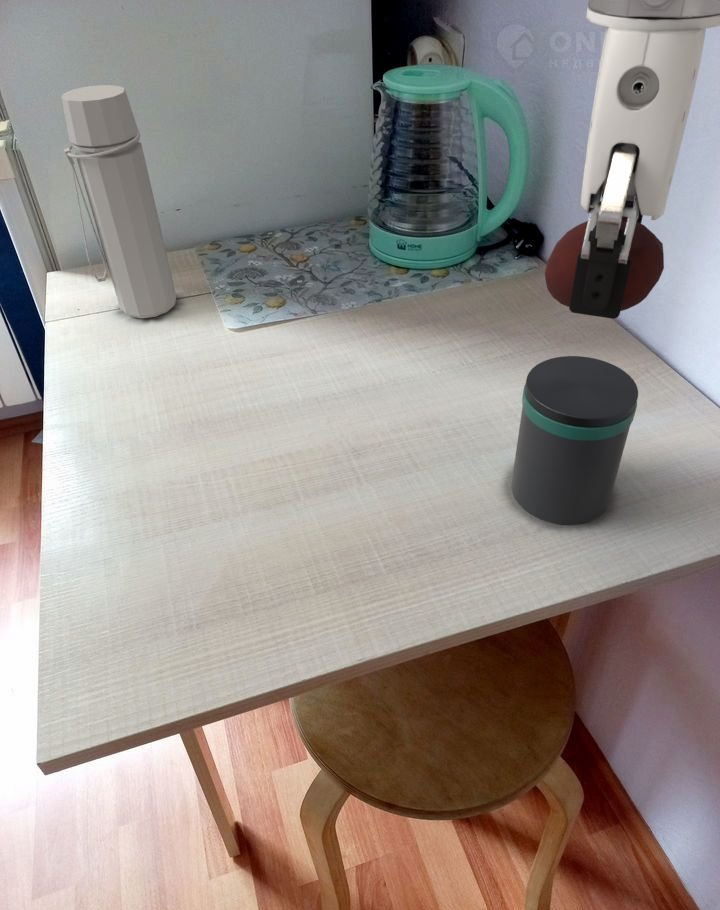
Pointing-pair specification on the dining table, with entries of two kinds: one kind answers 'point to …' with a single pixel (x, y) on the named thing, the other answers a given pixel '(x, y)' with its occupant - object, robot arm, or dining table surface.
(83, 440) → the dining table surface
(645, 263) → the potato
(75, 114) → the water bottle
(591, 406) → the canister
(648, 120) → the robot arm
